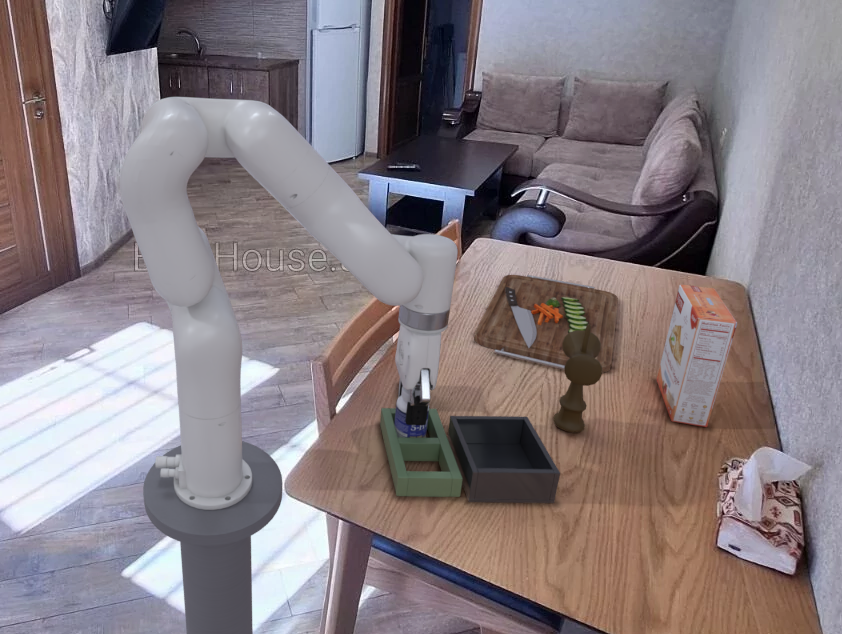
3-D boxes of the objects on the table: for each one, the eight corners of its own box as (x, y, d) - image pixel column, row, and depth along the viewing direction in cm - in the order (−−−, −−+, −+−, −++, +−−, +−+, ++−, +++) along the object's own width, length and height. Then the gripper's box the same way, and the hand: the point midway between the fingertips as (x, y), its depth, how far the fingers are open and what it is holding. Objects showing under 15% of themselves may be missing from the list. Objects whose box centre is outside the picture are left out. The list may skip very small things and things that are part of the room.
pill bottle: (412, 448, 105) (416, 402, 101) (387, 433, 108) (390, 388, 105) (432, 435, 108) (437, 390, 104) (407, 420, 111) (411, 376, 108)
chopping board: (608, 382, 125) (611, 368, 124) (468, 348, 137) (469, 336, 136) (618, 294, 162) (620, 283, 161) (506, 274, 174) (508, 263, 173)
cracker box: (653, 380, 126) (678, 282, 118) (689, 386, 124) (716, 287, 116) (668, 422, 114) (697, 315, 106) (707, 429, 112) (740, 321, 104)
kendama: (585, 414, 116) (607, 314, 108) (588, 446, 108) (611, 341, 100) (549, 406, 118) (568, 308, 110) (549, 437, 110) (569, 334, 102)
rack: (396, 496, 97) (398, 477, 96) (379, 424, 113) (381, 407, 112) (460, 497, 97) (462, 478, 96) (434, 425, 113) (436, 408, 112)
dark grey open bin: (468, 502, 96) (472, 472, 94) (446, 443, 108) (450, 415, 106) (554, 503, 96) (560, 473, 93) (522, 444, 108) (527, 416, 106)
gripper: (390, 290, 108) (381, 383, 114) (409, 340, 92) (397, 445, 99) (435, 291, 108) (423, 384, 114) (462, 342, 92) (447, 446, 98)
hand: (411, 411), depth 106 cm, fingers closed on pill bottle, 5 cm apart
